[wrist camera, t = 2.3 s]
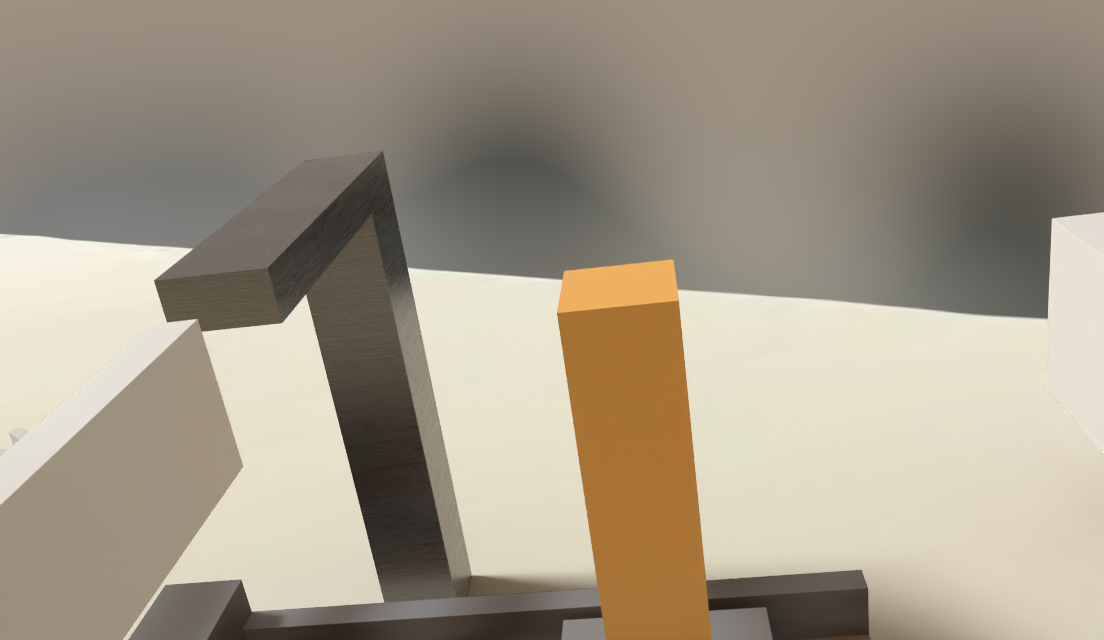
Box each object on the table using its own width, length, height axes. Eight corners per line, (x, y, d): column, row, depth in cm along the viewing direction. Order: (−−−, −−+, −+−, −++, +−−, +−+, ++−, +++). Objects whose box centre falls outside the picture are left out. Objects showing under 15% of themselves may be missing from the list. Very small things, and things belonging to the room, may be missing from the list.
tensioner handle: (556, 826, 28) (465, 355, 23) (569, 656, 35) (501, 255, 29) (1024, 808, 27) (1055, 296, 21) (947, 633, 33) (955, 204, 27)
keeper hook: (325, 822, 32) (154, 280, 25) (405, 578, 43) (304, 160, 36) (414, 818, 31) (267, 267, 24) (471, 574, 43) (383, 150, 36)
